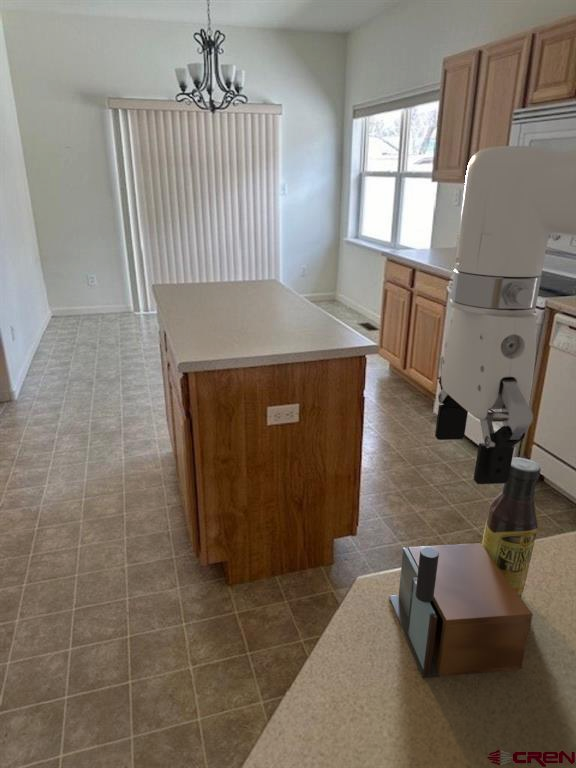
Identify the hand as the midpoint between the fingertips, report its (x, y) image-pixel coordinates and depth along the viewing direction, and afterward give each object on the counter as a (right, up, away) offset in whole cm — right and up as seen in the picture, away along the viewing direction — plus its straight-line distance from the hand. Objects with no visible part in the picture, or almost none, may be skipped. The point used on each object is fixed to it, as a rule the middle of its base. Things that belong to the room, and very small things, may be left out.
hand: (468, 458), depth 55 cm
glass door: (-3, -24, +9) cm, 26 cm away
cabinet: (+3, -23, +12) cm, 27 cm away
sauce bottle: (+11, -21, +19) cm, 31 cm away
